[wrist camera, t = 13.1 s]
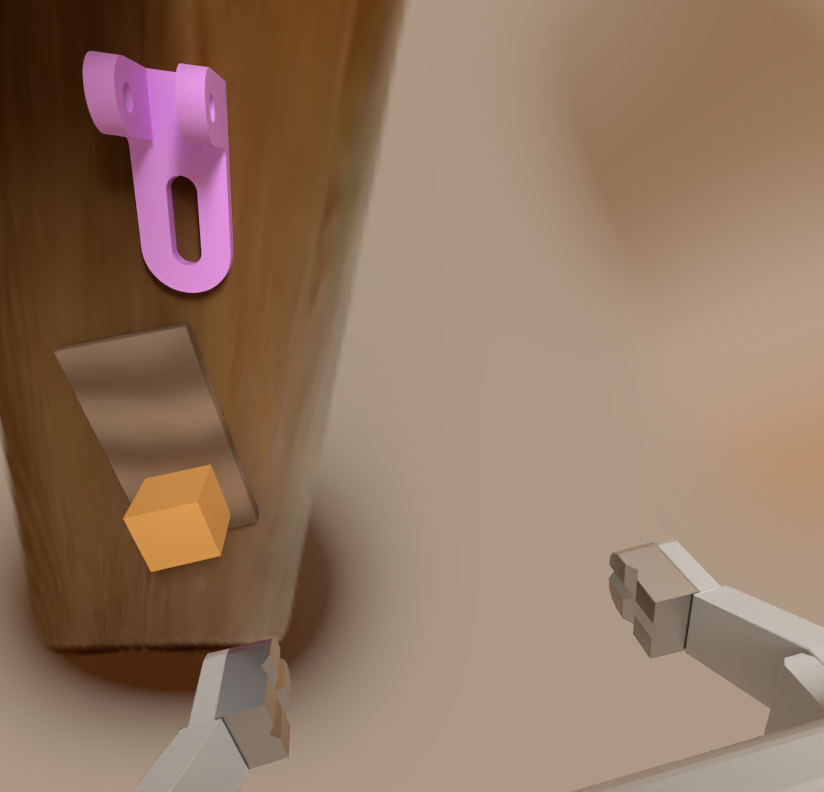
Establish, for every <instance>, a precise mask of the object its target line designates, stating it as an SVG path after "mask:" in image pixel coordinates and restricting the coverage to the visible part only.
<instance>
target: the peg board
mask: <svg viewBox="0 0 824 792" xmlns="http://www.w3.org/2000/svg"><path fill="white" fill-rule="evenodd" d="M54 354H55V356H56V358H57V360H58V361H59V363H60V365H61V367H62V369H63V371H64V373H65V375H66V377H67V379H68V381H69V383H70V385H71V387H72V389H73V391H74V393H75V395H76V397H77V399H78V401H79V403H80V405H81V407H82V409H83V411H84V413H85V415H86V417H87V419H88V421H89V423H90V425H91V427H92V429H93V430H94V432H95V434H96V436H97V438H98V440H99V442H100V444H101V446H102V448H103V450H104V452H105V454H106V456H107V458H108V460H109V462H110V464H111V466H112V468H113V470H114V472H115V474H116V476H117V478H118V480H119V482H120V484H121V486H122V488H123V490H124V492H125V494H126V496H127V498H128V500H129V501H130V503H131V504H132V502H133V500H134V498H135V496H136V494H137V493H138V491H139V489H140V487H141V485H142V484H143V482H144V480H145V479H146V478H151V477H155V476H160V475H164V474H169V473H174V472H178V471H183V470H188V469H192V468H197V467H201V466H206V465H211V466H212V468H213V471H214V473H215V476H216V478H217V481H218V483H219V486H220V488H221V491H222V493H223V496H224V498H225V501H226V503H227V506H228V509H229V511H230V514H231V516H230V520H229V524H228V528H227V529H231V528H235V527H240V526H244V525H248V524H253V523H257V522H258V518H259V512H258V509H257V506H256V503H255V501H254V498H253V495H252V492H251V490H250V487H249V484H248V481H247V479H246V476H245V473H244V471H243V468H242V465H241V462H240V460H239V457H238V454H237V451H236V449H235V446H234V443H233V440H232V438H231V435H230V432H229V429H228V427H227V424H226V421H225V419H224V416H223V413H222V410H221V408H220V405H219V402H218V399H217V397H216V394H215V391H214V388H213V386H212V383H211V380H210V377H209V375H208V372H207V369H206V367H205V364H204V361H203V358H202V356H201V353H200V350H199V347H198V345H197V342H196V339H195V336H194V334H193V331H192V328H191V325H190V323H189V322H186V323H180V324H175V325H170V326H165V327H159V328H154V329H149V330H144V331H139V332H133V333H128V334H123V335H118V336H112V337H107V338H102V339H97V340H91V341H86V342H81V343H76V344H70V345H65V346H61V347H60V348H58V349H57V350H56V351H54Z"/></svg>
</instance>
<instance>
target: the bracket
mask: <svg viewBox="0 0 824 792" xmlns="http://www.w3.org/2000/svg"><path fill="white" fill-rule="evenodd" d="M83 85H84V92H85V97H86V102H87V106H88V109H89V112H90V115H91V117H92V120H93V122H94V124H95V125H96V127H97V128H98V130H99V131H100V132H101V133H103V134H109V135H116V136H123V137H126V138H127V140H128V143H129V148H130V157H131V165H132V173H133V182H134V190H135V198H136V207H137V215H138V224H139V232H140V240H141V249H142V254H143V257H144V260H145V262H146V264H147V266H148V268H149V269H150V271H151V272H152V273H153V274H154V275H155V276H156V277H157V278H158V279H159V280H160V281H161V282H162V283H164V284H165V285H167V286H169V287H171V288H173V289H175V290H178V291H182V292H187V293H198V292H203V291H207V290H209V289H211V288H213V287H215V286H216V285H218V284H219V283H220V282H221V281H222V280H223V279H224V277H225V276H226V275H227V273H228V272H229V270H230V268H231V265H232V262H233V231H232V209H231V188H230V166H229V144H228V122H227V101H226V82H225V81H224V80H223V79H222V78H221V77H220V76H218V75H217V74H216V73H215V72H214V71H213V70H212V69H211V68H209V67H202V66H195V65H188V64H181V63H180V64H179V65H178V67H177V70H176V72H170V71H162V70H155V69H148V68H145V67H143V66H141V65H139V64H137V63H136V62H134V61H132V60H130V59H128V58H127V57H125V56H123V55H117V54H110V53H103V52H96V51H89V52H87V54H86V55H85V58H84V62H83ZM178 176H184V177H187V178H188V179H190V180H191V181H192V182H193V183H194V185H195V187H196V189H197V196H198V210H199V224H200V238H201V252H202V255H201V258H200V260H199V261H198V262H189V261H186V260H184V259H183V258H182V257H181V256H180V255H179V253H178V251H177V246H176V235H175V224H174V213H173V202H172V191H171V185H172V182H173V180H174V179H175V178H176V177H178Z"/></svg>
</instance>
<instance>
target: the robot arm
mask: <svg viewBox="0 0 824 792" xmlns="http://www.w3.org/2000/svg"><path fill="white" fill-rule="evenodd" d="M610 566H611V567H612V569H613V570H614V572H613V574H612V575H611V576H610V578H609V589H610V593H611V596H612V600H613V602H614V604H615V606H616V608H617V610H618V612H619V613H620V615H621V616H622V618H624V619H626V620H628V621H630V622H631V623H633V624H634V630H633V634H634V636H635V637H636V639H637V640H638V641H639V643H640V644H641V646H642V647H643V649H644V650H645V652H646V653H647V655H648V656H649V657H650V658H655V657H659V656H663V655H667V654H671V653H676V652H680V651H684V650H686V651H685V652H686V653H687V654H689V655H690V656H692V657H693V658H695V659H697V660H698V661H699V662H701V663H702V664H704V665H705V666H707V667H708V668H710V669H711V670H713V671H714V672H716V673H717V674H719V675H721V676H722V677H723V678H725V679H726V680H728V681H729V682H731V683H733V684H734V685H736V686H737V687H739V688H740V689H742V690H743V691H745V692H746V693H748V694H749V695H751V696H752V697H754V698H755V699H757V700H758V701H760V702H761V703H763V704H764V705H766V706H767V707H769V708H770V713H769V717H768V721H767V724H766V728H765V734H764V735H763V736H760V737H756V738H753V739H749V740H746V741H743V742H739V743H736V744H733V745H729V746H726V747H722V748H719V749H716V750H712V751H709V752H705V753H702V754H699V755H695V756H692V757H688V758H685V759H682V760H678V761H674V762H671V763H668V764H664V765H661V766H657V767H654V768H651V769H647V770H644V771H640V772H637V773H633V774H630V775H626V776H623V777H620V778H616V779H613V780H609V781H606V782H603V783H599V784H596V785H592V786H589V787H585V788H582V789H579V790H575V791H572V792H824V628H823V627H821V626H818V625H816V624H814V623H811V622H809V621H807V620H805V619H802V618H800V617H798V616H795V615H793V614H791V613H788V612H786V611H784V610H782V609H779V608H777V607H775V606H773V605H770V604H768V603H765V602H763V601H761V600H759V599H756V598H754V597H752V596H750V595H747V594H745V593H743V592H740V591H738V590H736V589H734V588H731V587H729V586H723V587H721V586H720V585H718V583H717V582H716V581H715V580H714V579H713V578H712V577H711V576H710V575H709V574H708V573H707V572H706V571H705V570H704V569H703V568H702V567H701V566H700V565H699V564H698V563H697V562H696V561H695V560H694V559H693V557H691V555H689V553H688V552H687V551H686V550H685V549H684V548H683V547H682V546H681V545H680V544H679V543H678V542H677V541H676V540H674V539H672V538H668V539H664V540H660V541H656V542H652V543H647V544H643V545H639V546H636V547H632V548H628V549H624V550H621V551H617V552H613V553H612V554H611V556H610ZM291 698H292V691H291V678H290V673H289V669H288V666H287V664H286V661H285V660H283V659H281V658H280V646H279V644H278V642H277V640H276V639H269V640H264V641H260V642H255V643H251V644H246V645H242V646H237V647H233V648H229V649H225V650H221V651H216V652H212V653H208V654H207V656H206V657H205V659H204V661H203V664H202V669H201V673H200V678H199V682H198V686H197V690H196V695H195V698H194V703H193V707H192V711H191V715H190V720H189V724H188V727H186V728H183V729H181V730H180V731H179V732H178V733H177V735H176V736H175V737H174V738H173V740H172V741H171V742H170V744H169V745H168V746H167V748H166V749H165V750H164V751H163V753H162V754H161V756H160V757H159V758H158V759H157V761H156V762H155V763H154V764H153V766H152V767H151V768H150V770H149V771H148V772H147V773H146V775H145V776H144V777H143V779H142V780H141V781H140V782H139V784H138V785H137V787H136V788H135V789H134V790H133V792H239V791H240V789H241V787H242V785H243V783H244V781H245V779H246V777H247V776H248V774H249V770H248V769H251V768H254V767H258V766H261V765H264V764H267V763H271V762H274V761H277V760H280V759H284V758H287V757H288V755H289V738H290V724H289V721H288V719H287V717H286V713H287V711H288V709H289V708H290V706H291Z"/></svg>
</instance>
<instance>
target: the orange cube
mask: <svg viewBox="0 0 824 792" xmlns="http://www.w3.org/2000/svg"><path fill="white" fill-rule="evenodd" d="M230 516H231V514H230V511H229V509H228V506H227V503H226V501H225V498H224V496H223V493H222V491H221V488H220V486H219V483H218V481H217V478H216V476H215V473H214V471H213V468H212V466H211V465H206V466H201V467H197V468H192V469H188V470H183V471H178V472H174V473H169V474H164V475H160V476H155V477H151V478H146V479H145V480H144V482H143V484H142V485H141V487H140V489H139V491H138V493H137V494H136V496H135V498H134V500H133V502H132V504H131V505H130V507H129V509H128V511H127V513H126V514H125V516H124V518H123V519H124V521H125V523H126V525H127V527H128V529H129V531H130V533H131V535H132V537H133V538H134V540H135V542H136V544H137V546H138V548H139V550H140V552H141V554H142V556H143V558H144V559H145V561H146V563H147V565H148V567H149V569H150V571H151V572H154V571H158V570H162V569H166V568H171V567H175V566H179V565H184V564H188V563H192V562H197V561H201V560H205V559H209V558H214V557H218V556H221V552H222V548H223V544H224V540H225V536H226V532H227V528H228V524H229V520H230Z"/></svg>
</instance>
